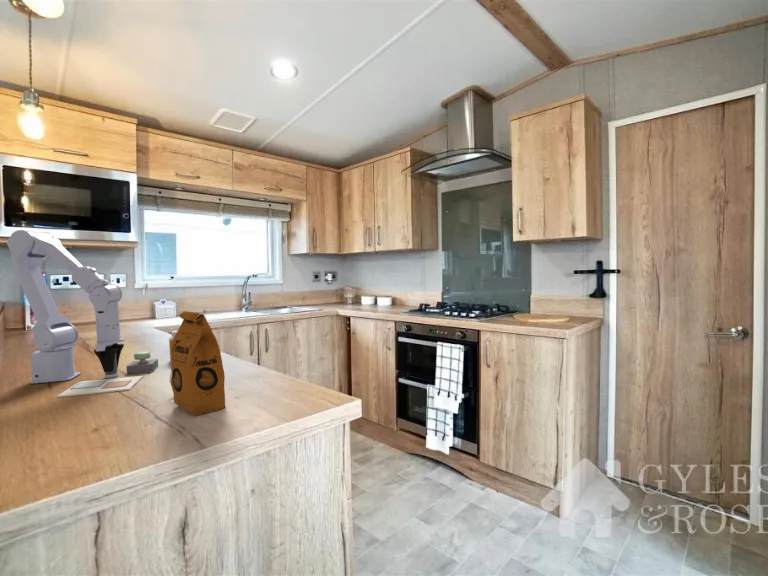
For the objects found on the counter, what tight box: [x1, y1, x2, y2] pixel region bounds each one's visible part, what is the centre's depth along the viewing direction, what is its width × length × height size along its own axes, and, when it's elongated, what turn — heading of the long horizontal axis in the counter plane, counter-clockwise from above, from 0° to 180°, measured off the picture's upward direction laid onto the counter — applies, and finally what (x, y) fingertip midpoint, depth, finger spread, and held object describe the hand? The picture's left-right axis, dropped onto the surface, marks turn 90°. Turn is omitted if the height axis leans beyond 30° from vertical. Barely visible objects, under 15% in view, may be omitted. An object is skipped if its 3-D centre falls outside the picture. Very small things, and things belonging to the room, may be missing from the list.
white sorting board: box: [56, 375, 145, 398], centre depth 108 cm, size 16×13×1 cm
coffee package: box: [170, 310, 226, 417], centre depth 89 cm, size 10×12×22 cm
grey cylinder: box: [104, 355, 118, 379], centre depth 117 cm, size 3×3×8 cm
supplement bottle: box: [168, 330, 178, 361], centre depth 137 cm, size 6×6×10 cm
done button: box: [133, 351, 151, 363], centre depth 124 cm, size 4×4×4 cm
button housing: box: [126, 358, 159, 375], centre depth 124 cm, size 7×7×2 cm
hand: (110, 370), depth 117 cm, fingers closed on grey cylinder, 3 cm apart
